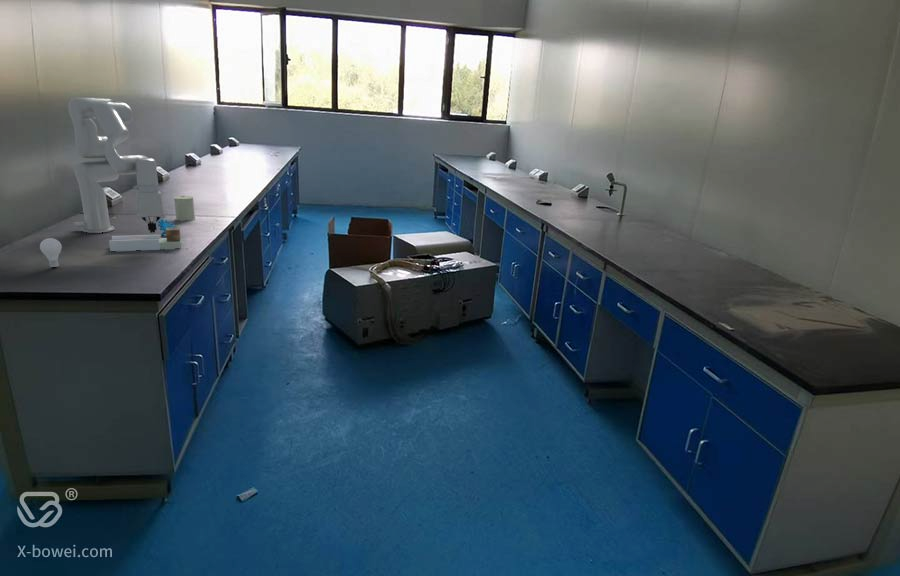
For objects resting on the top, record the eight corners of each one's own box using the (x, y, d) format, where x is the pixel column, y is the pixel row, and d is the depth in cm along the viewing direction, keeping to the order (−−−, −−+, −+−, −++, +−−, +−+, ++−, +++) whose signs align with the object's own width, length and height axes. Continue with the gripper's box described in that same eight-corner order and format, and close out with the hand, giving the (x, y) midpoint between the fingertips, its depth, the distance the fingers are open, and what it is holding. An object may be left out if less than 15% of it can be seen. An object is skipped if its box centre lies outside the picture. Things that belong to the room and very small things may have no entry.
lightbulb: (49, 271, 193) (43, 241, 189) (40, 267, 196) (34, 238, 192) (68, 267, 198) (63, 238, 194) (60, 264, 201) (55, 235, 197)
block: (166, 241, 228) (165, 230, 226) (167, 238, 232) (166, 227, 231) (180, 241, 230) (178, 229, 228) (180, 238, 234) (179, 227, 233)
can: (194, 217, 289) (192, 194, 285) (196, 220, 281) (194, 197, 277) (175, 217, 284) (172, 195, 280) (176, 221, 277) (174, 198, 273)
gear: (168, 236, 242) (154, 218, 242) (160, 244, 244) (147, 227, 244) (185, 234, 253) (172, 217, 253) (178, 242, 254) (165, 225, 255)
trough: (110, 251, 220) (108, 241, 218) (113, 246, 227) (112, 236, 226) (181, 248, 230) (180, 238, 228) (181, 243, 237) (180, 233, 236)
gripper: (126, 190, 215) (131, 234, 222) (168, 190, 221) (172, 233, 228) (128, 186, 222) (133, 230, 228) (169, 187, 228) (172, 229, 234)
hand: (152, 231), depth 228 cm, fingers closed
